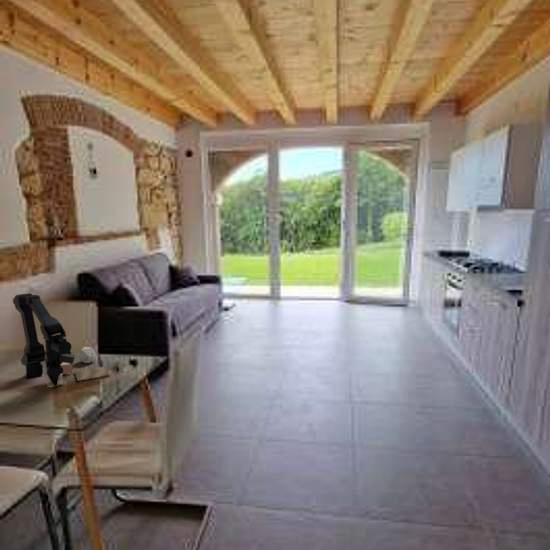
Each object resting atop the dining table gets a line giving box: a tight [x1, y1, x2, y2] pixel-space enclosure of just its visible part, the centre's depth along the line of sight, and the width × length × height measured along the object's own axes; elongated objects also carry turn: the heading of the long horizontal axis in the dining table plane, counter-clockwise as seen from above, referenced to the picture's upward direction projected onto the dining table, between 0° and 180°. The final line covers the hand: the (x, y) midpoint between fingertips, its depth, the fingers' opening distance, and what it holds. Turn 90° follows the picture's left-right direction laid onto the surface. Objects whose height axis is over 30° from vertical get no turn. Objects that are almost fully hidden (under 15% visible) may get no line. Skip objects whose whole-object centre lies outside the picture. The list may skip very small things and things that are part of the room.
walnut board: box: [74, 366, 111, 382], centre depth 199 cm, size 14×12×1 cm
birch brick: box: [46, 373, 64, 388], centre depth 187 cm, size 6×4×5 cm, turn 121°
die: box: [76, 346, 97, 364], centre depth 215 cm, size 8×9×10 cm
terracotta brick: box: [61, 362, 73, 375], centre depth 200 cm, size 6×4×5 cm, turn 121°
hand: (55, 382), depth 187 cm, fingers open, 7 cm apart
